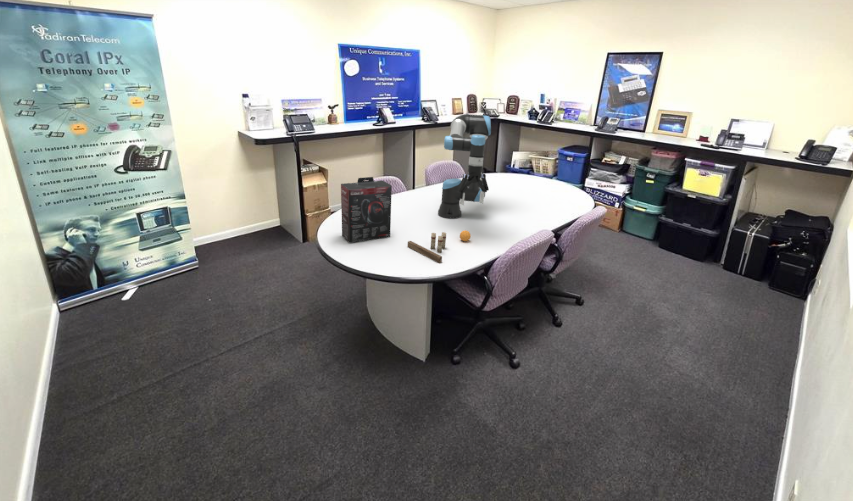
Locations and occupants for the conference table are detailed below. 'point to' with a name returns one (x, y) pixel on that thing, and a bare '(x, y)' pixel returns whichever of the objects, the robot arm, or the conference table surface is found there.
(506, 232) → the conference table surface
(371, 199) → the headset box
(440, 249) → the pin
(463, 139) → the robot arm
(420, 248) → the back wall
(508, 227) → the conference table surface
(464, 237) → the ball
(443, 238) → the front pin
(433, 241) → the pin
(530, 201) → the conference table surface
